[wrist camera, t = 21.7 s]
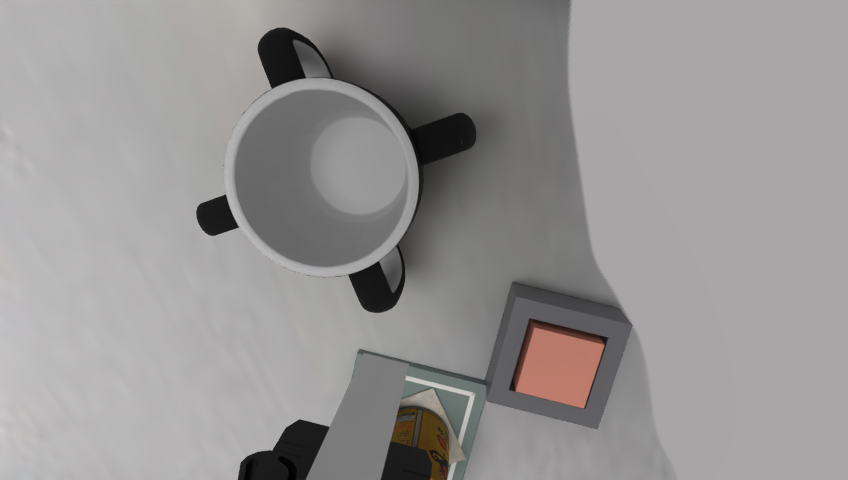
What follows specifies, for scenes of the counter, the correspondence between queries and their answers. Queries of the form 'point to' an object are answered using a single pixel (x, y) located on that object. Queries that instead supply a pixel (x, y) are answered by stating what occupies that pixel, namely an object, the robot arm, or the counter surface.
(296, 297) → the counter surface
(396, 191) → the mug
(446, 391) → the slate board
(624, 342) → the button housing
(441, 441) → the condiment
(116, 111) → the counter surface
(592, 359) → the button
